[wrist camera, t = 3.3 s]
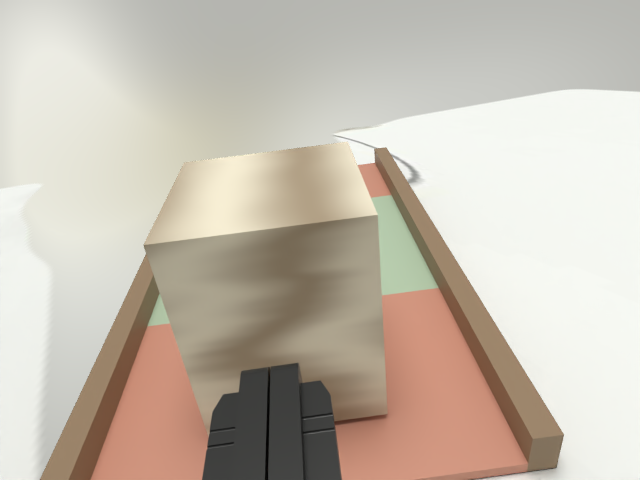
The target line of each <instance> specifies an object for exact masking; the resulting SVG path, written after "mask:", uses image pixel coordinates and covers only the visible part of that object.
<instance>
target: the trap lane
mask: <svg viewBox="0 0 640 480" xmlns="http://www.w3.org/2000/svg"><path fill="white" fill-rule="evenodd" d="M374 151H375V163H371V164H363V165H358V168H359V170H360V173H361V175H362V178H363V180H364V182H365V185H366V187H367V190H368V192H369V195H370V197H371V199H372V202H373V204H374V207H375V209H376V212H377V214H378V229H379V249H380V270H381V290H382V310H383V331H384V351H385V371H386V392H387V412H388V414H384V415H377V416H370V417H362V418H355V419H348V420H340V421H334V422H335V428H336V435H337V443H338V451H339V459H340V467H341V475H342V480H470V479H477V478H484V477H491V476H499V475H506V474H513V473H520V472H528V471H535V470H542V469H549V468H556V467H557V463H558V458H559V454H560V450H561V445H562V441H563V437H564V434H563V432H562V431H561V429H560V428H559V426H558V424H557V423H556V421H555V419H554V418H553V416H552V415H551V413H550V411H549V410H548V408H547V407H546V405H545V403H544V402H543V400H542V398H541V397H540V395H539V394H538V392H537V390H536V389H535V387H534V386H533V384H532V382H531V381H530V379H529V377H528V376H527V374H526V373H525V371H524V369H523V368H522V366H521V365H520V363H519V361H518V360H517V358H516V356H515V355H514V353H513V352H512V350H511V348H510V347H509V345H508V344H507V342H506V340H505V339H504V337H503V335H502V334H501V332H500V331H499V329H498V327H497V326H496V324H495V322H494V321H493V319H492V318H491V316H490V314H489V313H488V311H487V310H486V308H485V306H484V305H483V303H482V301H481V300H480V298H479V297H478V295H477V293H476V292H475V290H474V289H473V287H472V285H471V284H470V282H469V280H468V279H467V277H466V276H465V274H464V272H463V271H462V269H461V268H460V266H459V264H458V263H457V261H456V259H455V258H454V256H453V255H452V253H451V251H450V250H449V248H448V247H447V245H446V243H445V242H444V240H443V238H442V237H441V235H440V234H439V232H438V230H437V229H436V227H435V225H434V224H433V222H432V221H431V219H430V217H429V216H428V214H427V213H426V211H425V209H424V208H423V206H422V204H421V203H420V201H419V200H418V198H417V196H416V195H415V193H414V192H413V190H412V188H411V187H410V185H409V183H408V182H407V180H406V179H405V177H404V175H403V174H402V172H401V171H400V169H399V167H398V166H397V164H396V162H395V161H394V159H393V158H392V156H391V154H390V153H389V151H388V150H387V148H378V149H374ZM207 444H208V434H207V431H206V428H205V425H204V422H203V419H202V416H201V413H200V410H199V407H198V405H197V402H196V399H195V396H194V393H193V390H192V387H191V384H190V381H189V378H188V375H187V372H186V369H185V366H184V363H183V360H182V357H181V354H180V351H179V348H178V346H177V343H176V340H175V337H174V334H173V331H172V328H171V325H170V322H169V319H168V316H167V313H166V310H165V307H164V304H163V301H162V298H161V295H160V292H159V290H158V287H157V284H156V281H155V278H154V275H153V272H152V269H151V266H150V263H149V260H148V257H147V254H146V255H145V257H144V260H143V262H142V264H141V266H140V268H139V270H138V272H137V274H136V276H135V279H134V281H133V283H132V285H131V287H130V289H129V291H128V294H127V296H126V298H125V300H124V302H123V304H122V306H121V308H120V311H119V313H118V315H117V317H116V319H115V321H114V323H113V326H112V328H111V330H110V332H109V334H108V336H107V338H106V340H105V343H104V344H103V347H102V349H101V351H100V353H99V355H98V357H97V359H96V362H95V364H94V366H93V368H92V370H91V372H90V374H89V376H88V379H87V381H86V383H85V385H84V387H83V389H82V391H81V393H80V396H79V398H78V400H77V402H76V404H75V406H74V408H73V410H72V413H71V415H70V417H69V419H68V421H67V423H66V425H65V427H64V430H63V432H62V434H61V436H60V438H59V440H58V443H57V444H56V447H55V449H54V451H53V453H52V455H51V457H50V459H49V461H48V464H47V466H46V468H45V470H44V472H43V474H42V476H41V479H40V480H202V476H203V470H204V463H205V457H206V450H207Z"/></svg>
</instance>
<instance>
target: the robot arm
mask: <svg viewBox="0 0 640 480" xmlns="http://www.w3.org/2000/svg"><path fill="white" fill-rule="evenodd" d="M202 480H342V475H341V467H340V459H339V451H338V443H337V435H336V428H335V422H334V415H333V408H332V401H331V395H330V393H329V392H328V390H327V389H326V387H325V386H324V385H323V383H322V382H321V380H319V381H312V382H305V383H303V382H302V376H301V371H300V366H299V363H292V364H285V365H278V366H271V369H270V367H264V368H257V369H250V370H243V371H241V375H240V385H239V392H236V393H229V394H223V395H222V397H221V398H220V400H219V402H218V403H217V405H216V407H215V408H214V410H213V412H212V418H211V424H210V434H209V437H208V444H207V450H206V457H205V463H204V470H203V476H202Z"/></svg>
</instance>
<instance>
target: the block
mask: <svg viewBox="0 0 640 480" xmlns="http://www.w3.org/2000/svg"><path fill="white" fill-rule="evenodd" d="M144 248H145V251H146V254H147V257H148V260H149V263H150V266H151V269H152V272H153V275H154V278H155V281H156V284H157V287H158V290H159V292H160V295H161V298H162V301H163V304H164V307H165V310H166V313H167V316H168V319H169V322H170V325H171V328H172V331H173V334H174V337H175V340H176V343H177V346H178V348H179V351H180V354H181V357H182V360H183V363H184V366H185V369H186V372H187V375H188V378H189V381H190V384H191V387H192V390H193V393H194V396H195V399H196V402H197V405H198V407H199V410H200V413H201V416H202V419H203V422H204V425H205V428H206V431H207V434H208V437H209V434H210V424H211V418H212V412H213V410H214V408H215V407H216V405H217V403H218V402H219V400H220V398H221V397H222V395H223V394H229V393H236V392H239V385H240V375H241V371H243V370H250V369H257V368H264V367H270V369H271V366H278V365H285V364H292V363H299V366H300V371H301V376H302V382H303V383H305V382H312V381H319V380H321V382H322V383H323V385H324V386H325V387H326V389H327V390H328V392H329V393H330V395H331V401H332V408H333V415H334V421H340V420H348V419H355V418H362V417H370V416H377V415H384V414H388V412H387V392H386V371H385V351H384V331H383V310H382V290H381V270H380V249H379V229H378V214H377V212H376V209H375V207H374V204H373V202H372V199H371V197H370V195H369V192H368V190H367V187H366V185H365V182H364V180H363V178H362V175H361V173H360V170H359V168H358V165H357V163H356V161H355V158H354V156H353V153H352V151H351V148H350V146H349V144H348V142H342V143H335V144H326V145H318V146H311V147H304V148H295V149H288V150H279V151H272V152H263V153H255V154H248V155H240V156H232V157H224V158H216V159H208V160H200V161H192V162H185V163H184V164H183V166H182V168H181V170H180V172H179V174H178V176H177V178H176V180H175V182H174V185H173V186H172V189H171V190H170V193H169V195H168V196H167V199H166V201H165V203H164V205H163V207H162V209H161V211H160V213H159V215H158V217H157V219H156V221H155V223H154V225H153V227H152V229H151V231H150V233H149V235H148V237H147V239H146V241H145V243H144Z"/></svg>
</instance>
